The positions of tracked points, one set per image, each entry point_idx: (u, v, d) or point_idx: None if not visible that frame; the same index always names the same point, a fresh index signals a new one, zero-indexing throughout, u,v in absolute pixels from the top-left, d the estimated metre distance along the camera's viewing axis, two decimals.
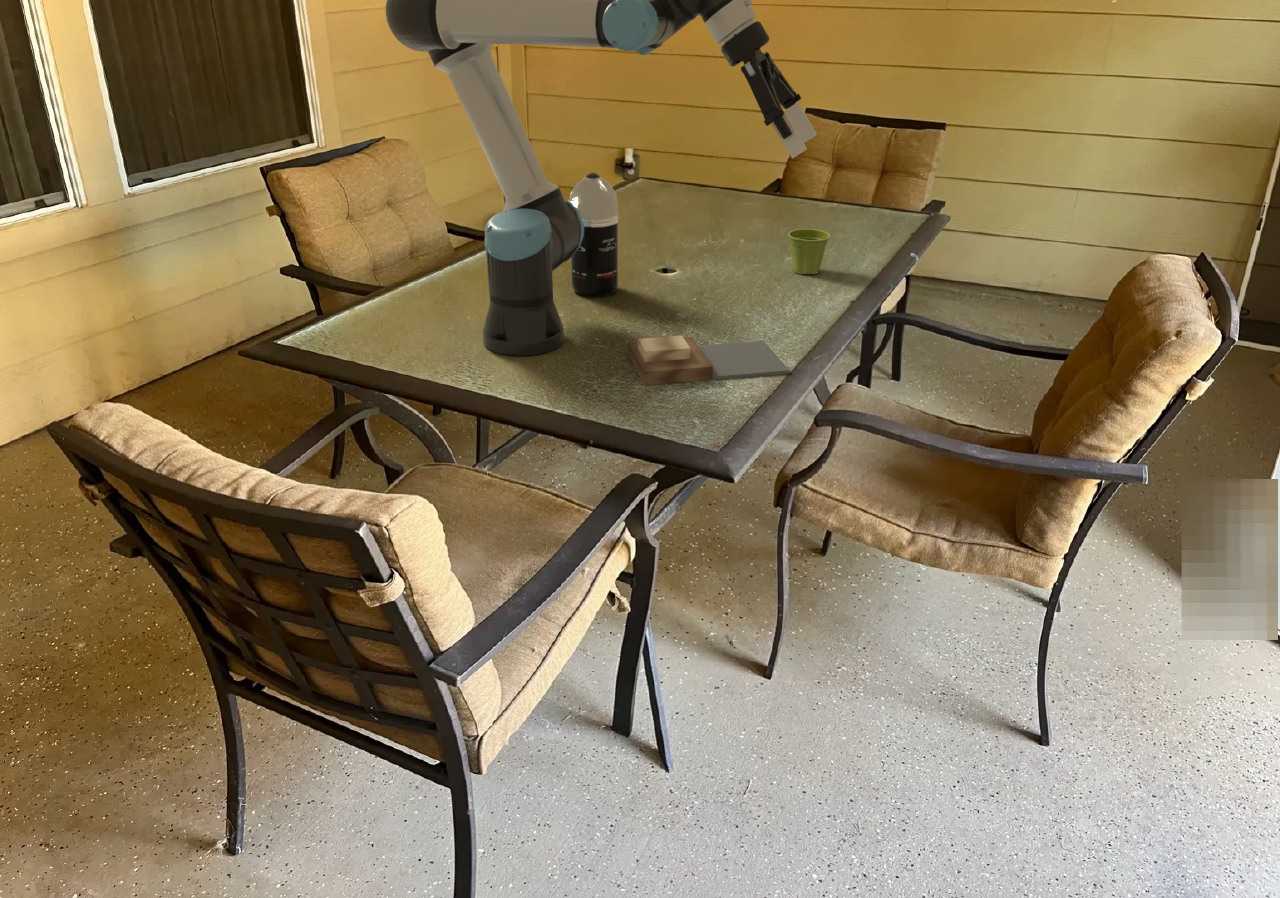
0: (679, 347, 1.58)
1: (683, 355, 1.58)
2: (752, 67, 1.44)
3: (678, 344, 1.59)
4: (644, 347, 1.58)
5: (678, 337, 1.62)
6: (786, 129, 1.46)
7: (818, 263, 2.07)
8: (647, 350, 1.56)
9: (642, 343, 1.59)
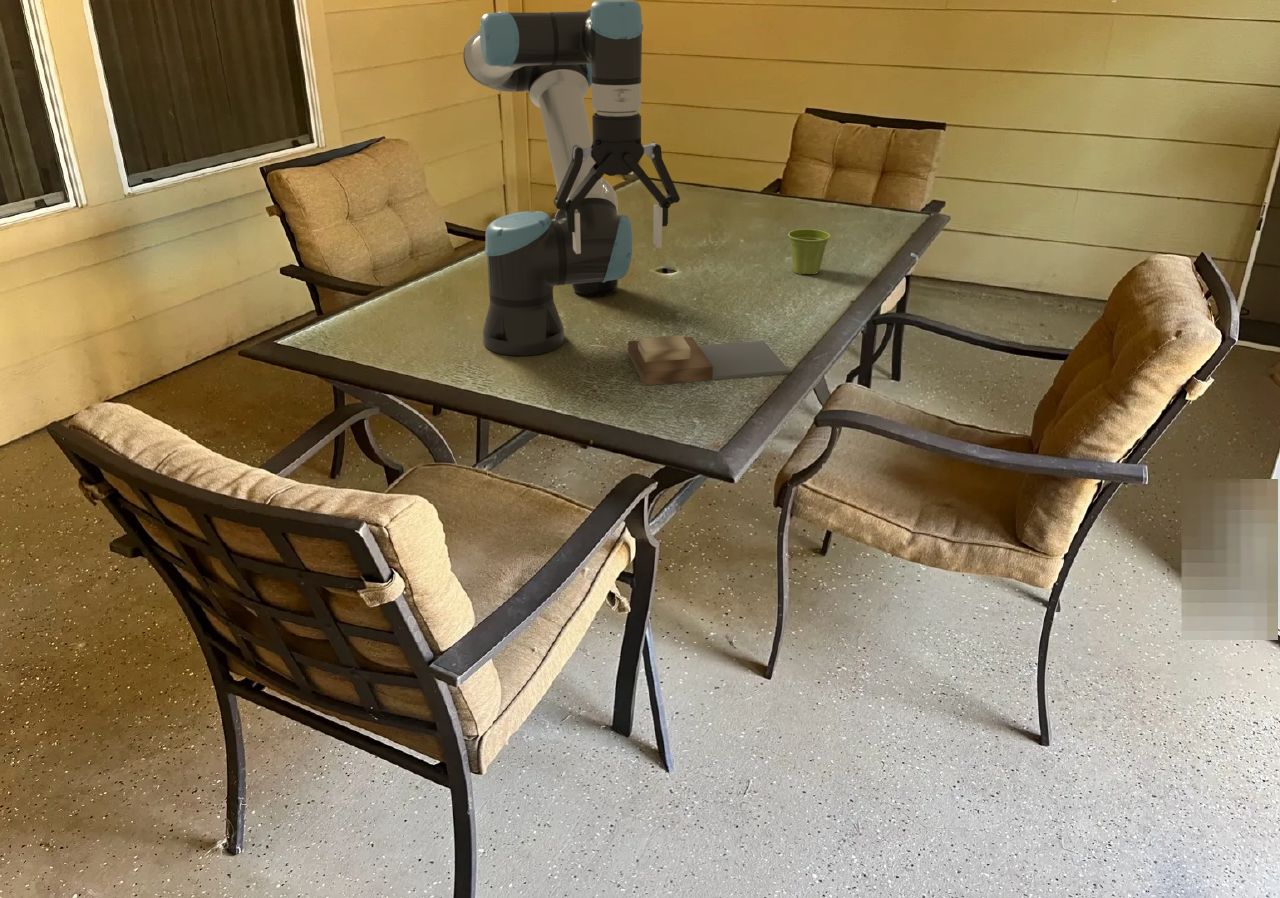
0: (679, 347, 1.58)
1: (683, 355, 1.58)
2: (574, 154, 1.40)
3: (678, 344, 1.59)
4: (644, 347, 1.58)
5: (678, 337, 1.62)
6: (567, 225, 1.45)
7: (818, 263, 2.07)
8: (647, 350, 1.56)
9: (642, 343, 1.59)
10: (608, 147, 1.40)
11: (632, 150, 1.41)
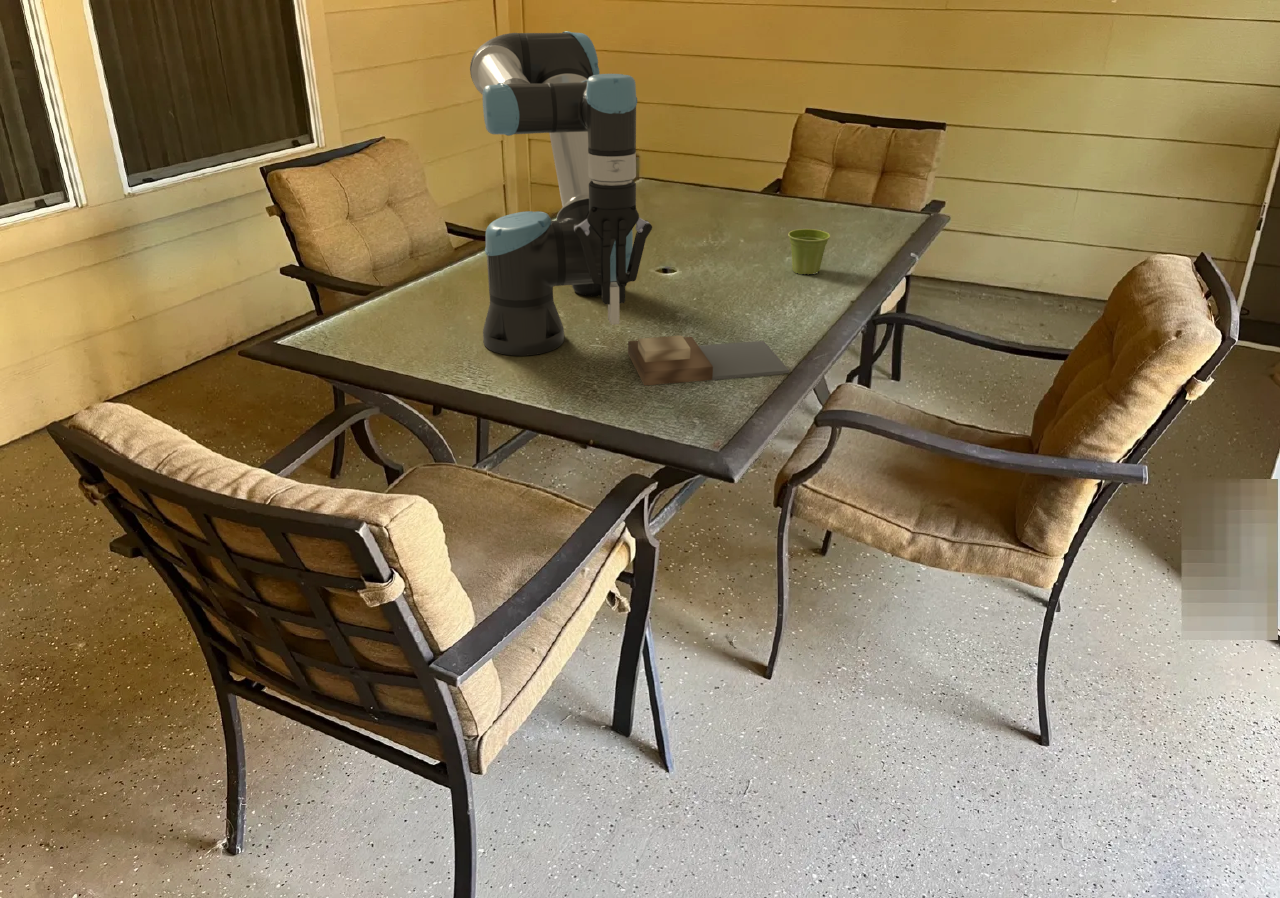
0: (679, 347, 1.58)
1: (683, 355, 1.58)
2: None
3: (678, 344, 1.59)
4: (644, 347, 1.58)
5: (678, 337, 1.62)
6: (602, 297, 1.52)
7: (818, 263, 2.07)
8: (647, 350, 1.56)
9: (642, 343, 1.59)
10: (598, 209, 1.44)
11: (629, 213, 1.46)
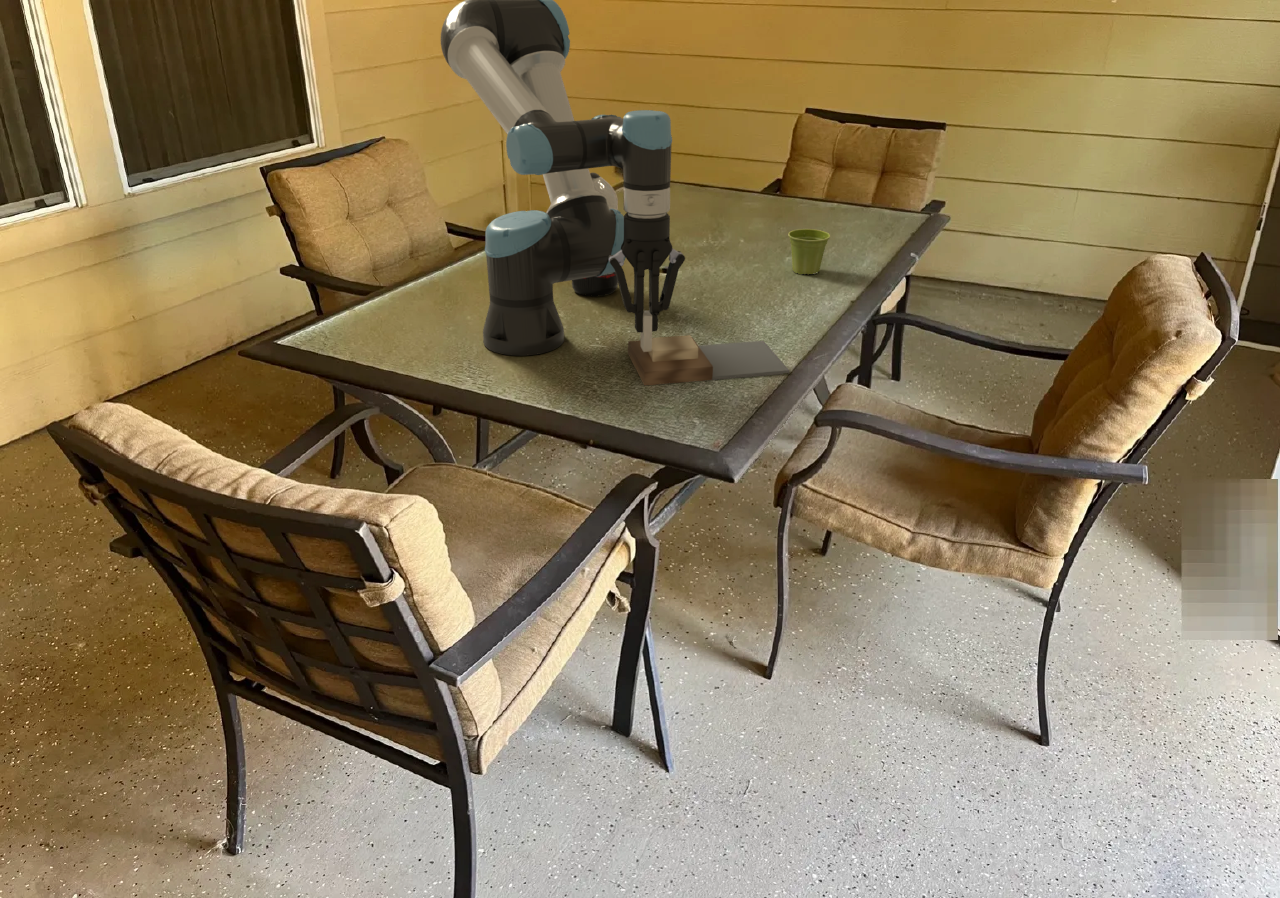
0: (687, 347, 1.58)
1: (691, 355, 1.58)
2: (612, 266, 1.50)
3: (686, 344, 1.59)
4: (652, 346, 1.58)
5: (686, 336, 1.62)
6: (635, 326, 1.56)
7: (818, 263, 2.07)
8: (655, 349, 1.57)
9: None
10: (633, 241, 1.48)
11: (663, 244, 1.49)
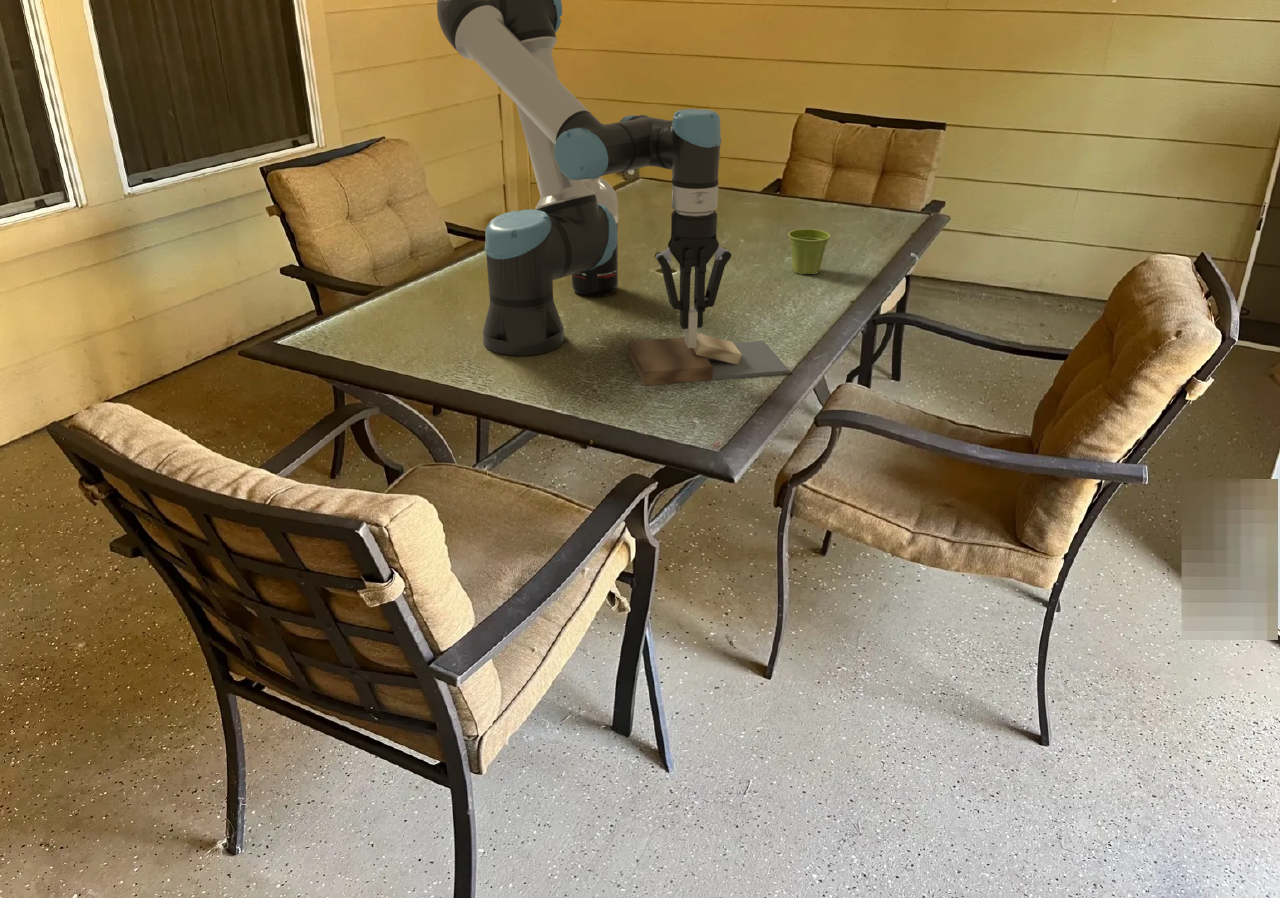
0: (731, 351, 1.60)
1: (733, 359, 1.60)
2: (659, 263, 1.51)
3: (730, 348, 1.61)
4: (699, 340, 1.59)
5: (729, 342, 1.64)
6: (681, 322, 1.57)
7: (818, 263, 2.07)
8: (702, 344, 1.58)
9: (697, 337, 1.61)
10: (680, 238, 1.50)
11: (710, 242, 1.51)
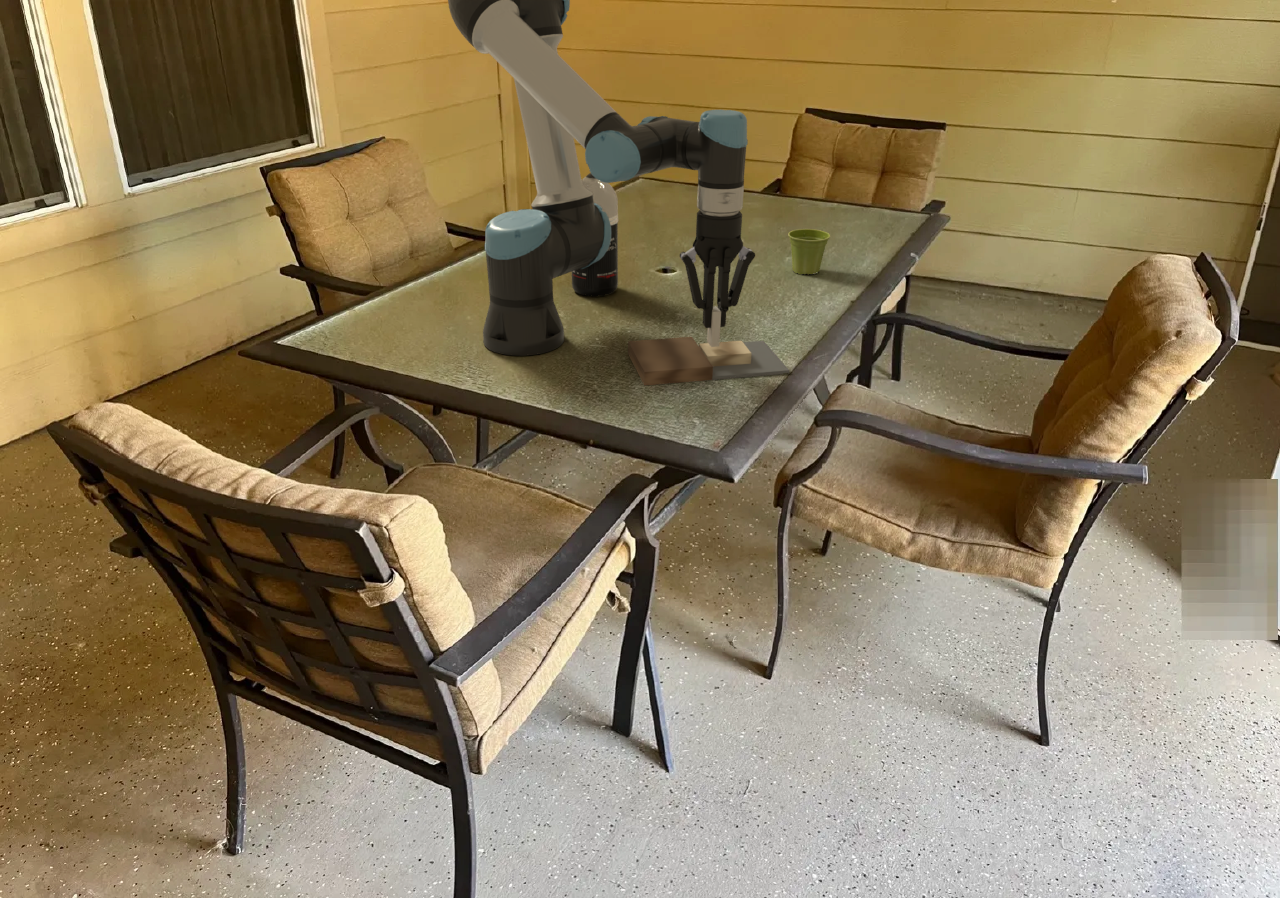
0: (740, 352, 1.61)
1: (744, 360, 1.61)
2: (684, 263, 1.52)
3: (739, 349, 1.62)
4: (706, 352, 1.61)
5: (738, 342, 1.65)
6: (704, 321, 1.58)
7: (818, 263, 2.07)
8: (709, 355, 1.60)
9: (703, 348, 1.62)
10: (705, 238, 1.51)
11: (734, 241, 1.52)
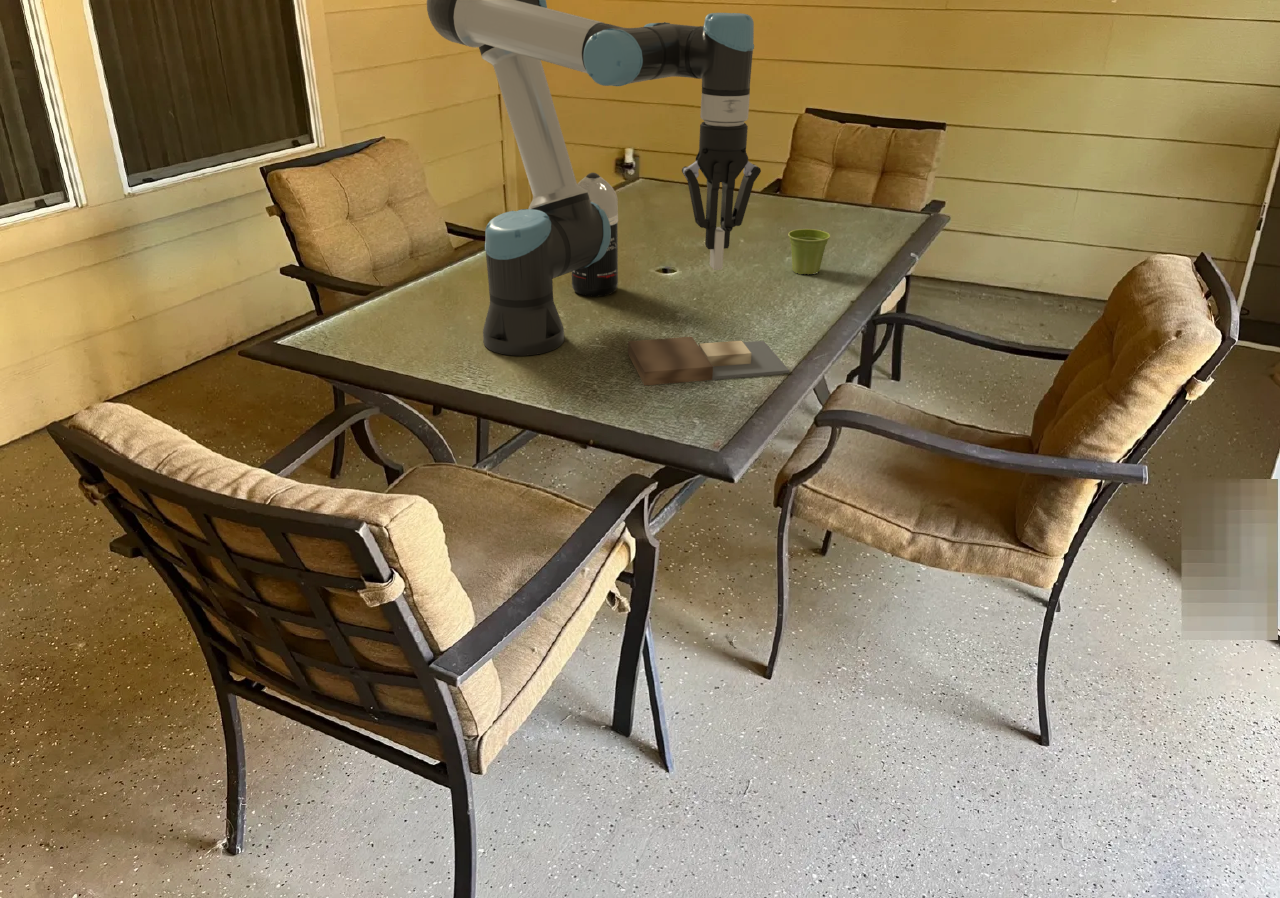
0: (740, 352, 1.61)
1: (744, 360, 1.61)
2: (686, 177, 1.46)
3: (739, 349, 1.62)
4: (706, 352, 1.61)
5: (738, 342, 1.65)
6: (707, 242, 1.52)
7: (818, 263, 2.07)
8: (709, 355, 1.60)
9: (703, 348, 1.62)
10: (709, 151, 1.44)
11: (739, 155, 1.45)
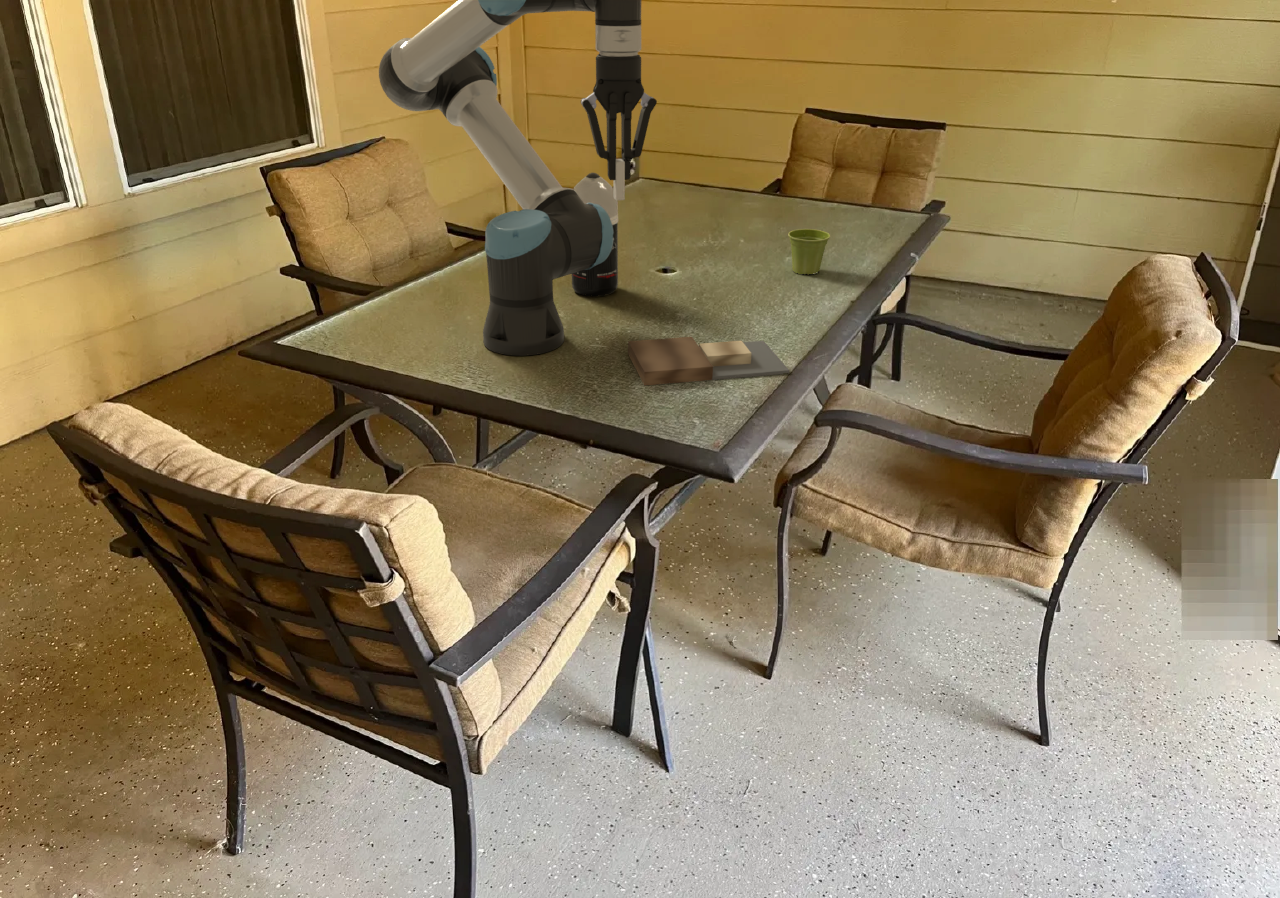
0: (740, 352, 1.61)
1: (744, 360, 1.61)
2: (584, 108, 1.52)
3: (739, 349, 1.62)
4: (706, 352, 1.61)
5: (738, 342, 1.65)
6: (608, 173, 1.58)
7: (818, 263, 2.07)
8: (709, 355, 1.60)
9: (703, 348, 1.62)
10: (605, 81, 1.50)
11: (634, 86, 1.51)
